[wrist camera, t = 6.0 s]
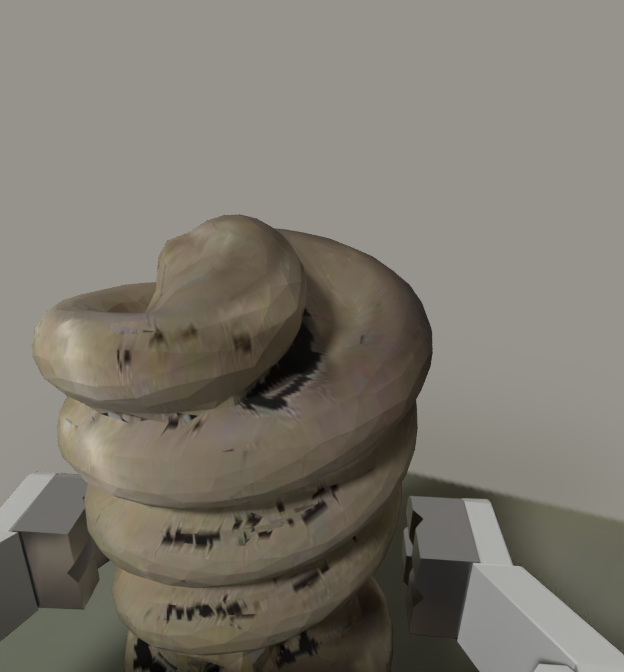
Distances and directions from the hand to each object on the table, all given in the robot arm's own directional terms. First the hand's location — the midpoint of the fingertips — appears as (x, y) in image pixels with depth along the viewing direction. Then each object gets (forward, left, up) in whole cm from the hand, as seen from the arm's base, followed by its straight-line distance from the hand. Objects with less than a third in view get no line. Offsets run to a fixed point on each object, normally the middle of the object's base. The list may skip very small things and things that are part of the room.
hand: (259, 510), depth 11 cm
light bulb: (0, +1, -9) cm, 9 cm away
